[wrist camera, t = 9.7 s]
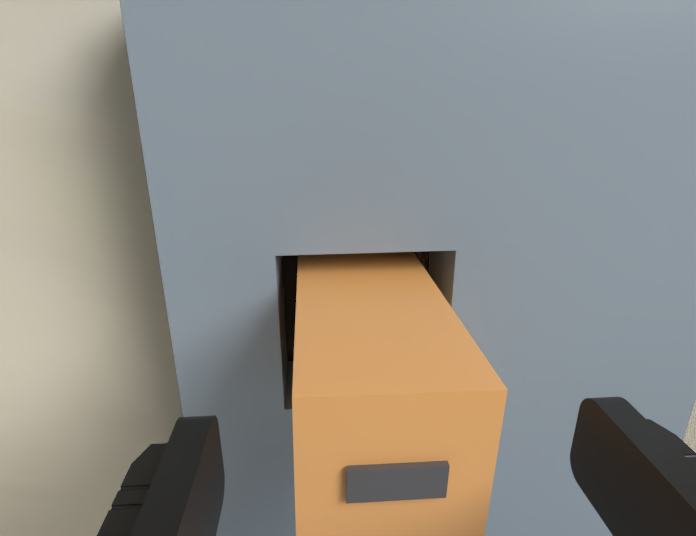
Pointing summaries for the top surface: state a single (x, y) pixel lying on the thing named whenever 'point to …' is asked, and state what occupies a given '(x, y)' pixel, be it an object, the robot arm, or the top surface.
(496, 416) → the block
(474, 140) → the grey slotted stand
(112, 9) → the top surface
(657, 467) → the robot arm
